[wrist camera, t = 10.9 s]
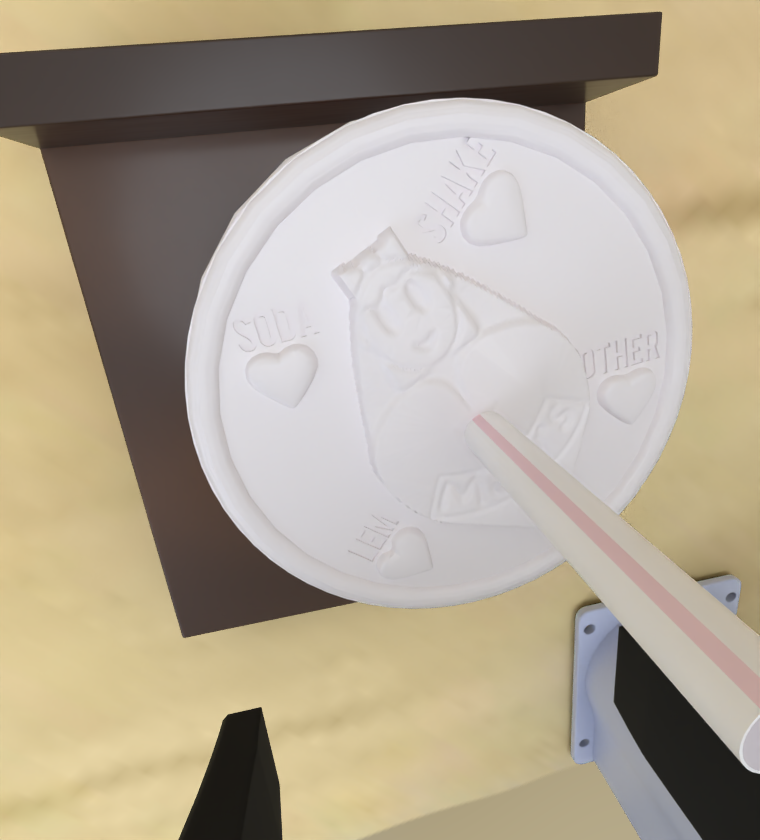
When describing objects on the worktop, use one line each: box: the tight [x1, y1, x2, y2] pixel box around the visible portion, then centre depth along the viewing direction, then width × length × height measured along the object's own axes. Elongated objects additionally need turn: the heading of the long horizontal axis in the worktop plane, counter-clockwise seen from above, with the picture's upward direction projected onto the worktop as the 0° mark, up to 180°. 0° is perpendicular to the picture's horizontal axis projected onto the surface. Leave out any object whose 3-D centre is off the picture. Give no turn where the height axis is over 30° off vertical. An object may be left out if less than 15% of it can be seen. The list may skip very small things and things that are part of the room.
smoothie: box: [185, 98, 760, 774], centre depth 9 cm, size 6×6×14 cm
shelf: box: [0, 12, 662, 638], centre depth 16 cm, size 16×14×6 cm
